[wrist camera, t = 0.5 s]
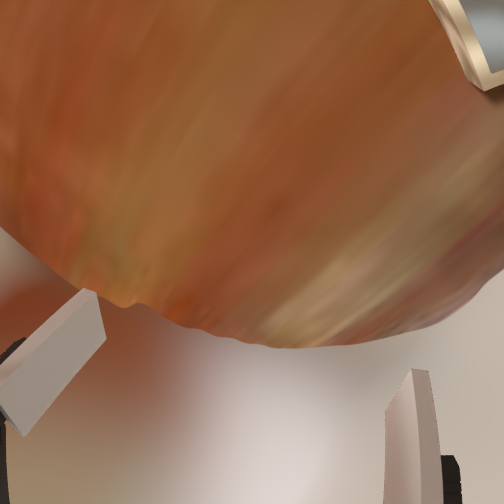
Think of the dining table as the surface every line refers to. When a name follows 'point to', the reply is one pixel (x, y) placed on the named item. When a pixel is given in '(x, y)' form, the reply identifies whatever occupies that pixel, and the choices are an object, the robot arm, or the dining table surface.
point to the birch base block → (475, 37)
